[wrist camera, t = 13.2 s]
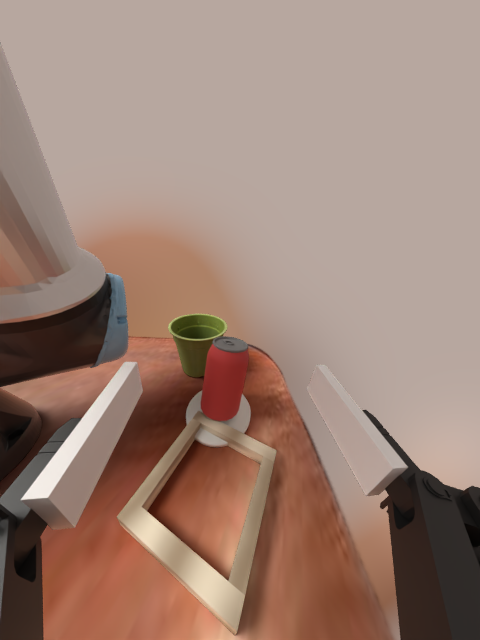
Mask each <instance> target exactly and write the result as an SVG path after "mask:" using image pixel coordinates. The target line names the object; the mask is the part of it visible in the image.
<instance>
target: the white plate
mask: <svg viewBox="0 0 480 640" xmlns="http://www.w3.org/2000/svg"><path fill="white" fill-rule="evenodd" d="M201 396H202V391H200V392H199V393H197V394H196V395H195V396H194V397H193V398H192V400H191V401H190V403H189V405H188V407H187V411H186V423H187V425H188V423H189V422H190V421H191V419H192V418H193V417H194V416H195V414H196V413H197V412H198V411H200V412H202V413H203V411H202V409H201ZM250 417H251V411H250V406H249V403H248V401H247V399H246V398H245V396H244V395H243V394H242V397H241V402H240V407H239V411H238V413H237V414H236V415H235V416H234V417H233V418H232V419H229V420H227V421H220V422H222V423H224V424H226V425H228V426H230V427H232V428H234V429H236V430H238V431H240V432H242V433H243V434H244V433H245V432H246V430H247V428H248V426H249V422H250ZM195 440H196V441H198V442H199V443H201V444H203V445H205V446H208V447H225V446H227V444H228V442H226V441H224V440H222V439H220V438H219V437H217V436H215V435H213V434H211V433H209V432H208V431H206V430H204V429H202V428H200V429H199V431H198V432H197V434H196V435H195Z"/></svg>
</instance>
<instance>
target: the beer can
mask: <svg viewBox="0 0 480 640" xmlns="http://www.w3.org/2000/svg"><path fill="white" fill-rule="evenodd" d="M248 362H249V354H248V345H247V343H246V342H244V341H243V340H240V339H237V338H234V337H217V338H215V339H214V340H213V344H212V345H211V347H210V349H209V351H208V354H207V361H206V368H205V375H204V382H203V389H202V396H201V409H202V411H203V413H204V414H205V415H206V416H207V417H208V418H210V419H212V420H215V421H227V420H229V419H232V418H233V417H234V416H235V415H236V414H237V413H238V411H239V407H240V402H241V397H242V392H243V387H244V382H245V377H246V372H247V367H248Z"/></svg>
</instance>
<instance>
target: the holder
mask: <svg viewBox="0 0 480 640" xmlns="http://www.w3.org/2000/svg"><path fill="white" fill-rule="evenodd" d="M200 428H202V429H204V430H206V431H208V432H209V433H211V434H213V435H215V436H217V437H219V438H220V439H222V440H224V441H226V442H228V444H227V446H229V447H230V448H232V449H234V450H236V451H238V452H239V453H241V454H243V455H245V456H247V457H249V458H250V459H252V460H254V461H256V462H258V463H259V464H261V466H260V469H259V473H258V476H257V480H256V484H255V487H254V491H253V494H252V498H251V502H250V505H249V509H248V512H247V516H246V520H245V523H244V527H243V530H242V534H241V537H240V541H239V545H238V548H237V552H236V555H235V559H234V563H233V566H232V570H231V573H230V577H229V581H227V580H226V579H225V578H224V577H223V576H222V575H221V574H219V573H218V572H217V571H216V570H215V569H214V568H212V567H211V566H210V565H209V564H208V563H207V562H205V561H204V560H203V559H202V558H201V557H200V556H198V555H197V554H196V553H195V552H194V551H193V550H191V549H190V548H189V547H188V546H187V545H186V544H184V543H183V542H182V541H181V540H180V539H179V538H177V537H176V536H175V535H174V534H173V533H172V532H170V531H169V530H168V529H167V528H166V527H165V526H163V525H162V524H161V523H160V522H159V521H158V520H156V519H155V518H154V517H153V516H152V515H151V514H149V513H148V512H147V510H148V509H149V507H150V506H151V504H152V503H153V501H154V500H155V498H156V497H157V495H158V494H159V492H160V491H161V489H162V488H163V486H164V485H165V483H166V482H167V480H168V479H169V477H170V476H171V474H172V473H173V471H174V470H175V468H176V467H177V465H178V464H179V462H180V461H181V459H182V458H183V456H184V455H185V453H186V452H187V450H188V449H189V447H190V446H191V444H192V443H193V441H194V440H195V435H196V434H197V432H198V431H199V429H200ZM276 452H277V450H275V449H273V448H271V447H269V446H267V445H265V444H263V443H261V442H259V441H257V440H255V439H253V438H251V437H249V436H247V435H245V434H243V433H242V432H240V431H238V430H236V429H234V428H232V427H230V426H228V425H226V424H224V423H222V422H220V421H215V420H212V419H210V418H208V417H207V416H206V415H205V414H204V413H202V412H200V411H198V412H197V413H196V414H195V416H194V417H193V418H192V419H191V421H190V422H189V423H188V425H187V426H186V427H185V429H184V430H183V431H182V433H181V434H180V435H179V436H178V438H177V439H176V440H175V442H174V443H173V444H172V446H171V447H170V448H169V449H168V451H167V452H166V453H165V455H164V456H163V457H162V459H161V460H160V461H159V463H158V464H157V465H156V466H155V468H154V469H153V470H152V472H151V473H150V474H149V476H148V477H147V478H146V479H145V481H144V482H143V483H142V485H141V486H140V487H139V489H138V490H137V491H136V493H135V494H134V495H133V496H132V498H131V499H130V500H129V502H128V503H127V504H126V506H125V507H124V508H123V510H122V511H121V512H120V513H119V515H118V516H117V519H118V521H119V523H120V525H121V526H122V527H123V528H124V529H125V530H126V531H127V532H128V533H129V534H130V535H131V536H132V537H133V538H135V539H136V540H137V541H138V542H139V543H140V544H141V545H142V546H143V547H144V548H145V549H146V550H147V551H148V552H149V553H150V554H151V555H152V556H153V557H154V558H155V559H156V560H157V561H158V562H159V563H160V564H161V565H162V566H164V567H165V568H166V569H167V570H168V571H169V572H170V573H171V574H172V575H173V576H174V577H175V578H176V579H177V580H178V581H179V582H180V583H181V584H182V585H183V586H184V587H185V588H186V589H187V590H188V591H189V592H190V593H191V594H192V595H194V596H195V597H196V598H197V599H198V600H199V601H200V602H201V603H202V604H203V605H204V606H205V607H206V608H207V609H208V610H209V611H210V612H211V613H212V614H213V615H214V616H215V617H216V618H217V619H218V620H219V621H220V622H221V623H222V624H224V625H225V626H226V627H227V628H228V629H229V630H230V631H231V632H232V633H233V634H234V635H236V633H237V630H238V626H239V621H240V617H241V612H242V607H243V603H244V598H245V594H246V589H247V585H248V580H249V575H250V571H251V566H252V562H253V557H254V553H255V548H256V543H257V539H258V534H259V530H260V525H261V520H262V516H263V511H264V507H265V502H266V498H267V493H268V488H269V484H270V479H271V475H272V470H273V465H274V461H275V456H276Z"/></svg>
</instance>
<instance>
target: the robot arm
mask: <svg viewBox="0 0 480 640" xmlns="http://www.w3.org/2000/svg"><path fill="white" fill-rule="evenodd" d="M126 318H127V307H126V298H125V290H124V284H123V280H122V278H121V277H120V276H118V275H113V274H111V273H108V274H106V272H105V269H104V267H103V265H102V263H101V262H100V260H99V259H98V258H97V257H96V256H94V255H93V254H91V253H90V252H88V251H86V250H84V249H82V248H80V247H78V246H77V243H76V241H75V238H74V235H73V233H72V230H71V227H70V225H69V222H68V220H67V217H66V215H65V212H64V209H63V206H62V204H61V201H60V199H59V196H58V193H57V191H56V188H55V186H54V183H53V180H52V177H51V175H50V172H49V169H48V167H47V164H46V162H45V159H44V156H43V154H42V151H41V148H40V146H39V143H38V140H37V138H36V135H35V133H34V130H33V128H32V125H31V122H30V119H29V117H28V114H27V112H26V109H25V106H24V104H23V101H22V98H21V96H20V93H19V91H18V88H17V85H16V82H15V80H14V77H13V75H12V72H11V69H10V67H9V64H8V62H7V59H6V56H5V54H4V51H3V48H2V46H1V43H0V387H2V386H7V385H11V384H16V383H20V382H24V381H29V380H33V379H38V378H42V377H46V376H51V375H55V374H60V373H64V372H69V371H74V370H78V369H83V368H87V367H90V368H92V367H96V366H98V365H99V364H103V363H106V362H110V361H114V360H117V359H119V358H121V357H123V356H124V355H125V353H126V352H127V349H128V323H127V319H126ZM307 391H308V393H309V395H310V397H311V398H312V400H313V402H314V403H315V406H316V407H317V409H318V411H319V413H320V415H321V416H322V418H323V420H324V422H325V424H326V425H327V427H328V429H329V431H330V432H331V434H332V436H333V438H334V440H335V442H336V443H337V445H338V447H339V449H340V451H341V452H342V454H343V456H344V458H345V459H346V461H347V463H348V465H349V467H350V468H351V470H352V472H353V474H354V476H355V477H356V479H357V481H358V483H359V485H360V486H361V488H362V490H363V492H364V494H365V495H366V496H371V495H379V494H380V493H381V492H382V491H383V490H386V491H387V493H388V495H389V496H388V497H387V498H386V499H385V500H384V501H382V502H381V504H380V508H382V509H384V508H385V507H386V506H387V505H388V510H387V513H388V514H389V523H390V534H391V545H392V555H393V564H394V575H395V586H396V596H397V606H398V616H399V626H400V637H401V640H480V488H478V487H474V486H471V487H469V488H467V489H466V490H464V491H463V490H460V489H456V488H453V487H450V486H447V485H444V484H443V483H442V482H440V481H439V480H438V479H437V478H435V477H434V476H433V475H431V474H430V473H427V472H425V471H421V470H420V469H419V468H418V467H417V466H416V465H415V464H414V463H413V462H412V460H411V459H410V458H409V457H408V455H407V454H406V453H405V452H404V451H403V449H402V448H401V447H400V446H399V445H398V444H397V442H396V441H395V440H394V439H393V438H392V437H391V436H390V435H389V433H388V432H387V431H386V429H384V428H383V426H382V425H381V424H380V422H379V421H378V420H377V419H376V418H375V417H374V416H373V415H372V414H370V413H369V412H368V411H367V410H361V408H359V406H358V405H357V403H356V402H355V401H354V400H353V398H352V397H351V396H350V395H349V394H348V392H347V391H346V390H345V389H344V387H343V386H342V385H341V384H340V382H339V381H338V380H337V379H336V378H335V376H334V375H333V374H332V373H331V371H330V370H329V369H328V368H327V366H326V365H316V367H315V369H314V372H313V375H312V377H311V380H310V382H309V385H308V387H307ZM142 392H143V389H142V384H141V379H140V374H139V369H138V364H137V362H124V364H123V365H122V366H121V368H120V369H119V370H118V372H117V373H116V374H115V376H114V377H113V378H112V380H111V381H110V382H109V384H108V385H107V386H106V388H105V389H104V390H103V391H102V393H101V394H100V395H99V397H98V398H97V399H96V401H95V402H94V403H93V405H92V406H91V407H90V409H89V410H88V411H87V413H86V414H85V415H84V417H83V418H71V419H70V420H69V421H68V422H66V423H65V424H64V425H63V426H61V427H60V428H59V429H58V430H57V431H56V432H55V433H54V434H53V436H52V437H51V438H50V439H49V440H48V442H47V444H45V445H44V446H43V448H42V449H41V450H40V451H39V452H38V455H36V456H35V457H34V458H33V459H32V461H31V462H30V463H29V464H28V465H27V467H26V468H25V469H24V470H23V471H22V473H21V474H20V475H19V476H18V477H17V479H16V480H15V481H14V482H13V483H12V484H11V486H10V487H9V488H8V489H7V490H6V492H5V493H4V494H3V495H2V496H1V498H0V640H43V595H42V547H41V539H40V536H41V534H42V533H43V531H44V529H45V528H46V526H47V525H48V526H49V527H50V528H51V529H52V530H57V529H66V528H75V526H76V524H77V522H78V520H79V518H80V516H81V514H82V512H83V510H84V508H85V506H86V504H87V502H88V500H89V498H90V496H91V494H92V492H93V490H94V488H95V486H96V484H97V482H98V480H99V478H100V476H101V474H102V472H103V470H104V468H105V466H106V464H107V462H108V460H109V458H110V456H111V454H112V452H113V450H114V448H115V446H116V444H117V442H118V440H119V438H120V436H121V434H122V432H123V430H124V428H125V426H126V424H127V422H128V420H129V418H130V416H131V414H132V412H133V410H134V408H135V406H136V404H137V402H138V400H139V398H140V396H141V394H142ZM41 427H42V421H41V418H40V416H39V414H38V413H37V411H36V409H35V408H34V407H33V406H32V405H31V404H30V403H28V402H26V401H24V400H22V399H20V398H18V397H16V396H15V395H13V394H11V393H9V392H7V391H5V390H3V389H1V388H0V481H1V480H2V479H3V478H4V477H5V476H6V475H7V474H8V473H9V472H10V471H11V470H12V469H13V468H15V467H16V465H17V464H18V463H19V462H20V461H21V460H22V459H23V458H24V457H25V456H26V454H27V453H28V452H29V451H30V449H31V448H32V446H33V445H34V443H35V442H36V440H37V438H38V436H39V434H40V431H41Z"/></svg>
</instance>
